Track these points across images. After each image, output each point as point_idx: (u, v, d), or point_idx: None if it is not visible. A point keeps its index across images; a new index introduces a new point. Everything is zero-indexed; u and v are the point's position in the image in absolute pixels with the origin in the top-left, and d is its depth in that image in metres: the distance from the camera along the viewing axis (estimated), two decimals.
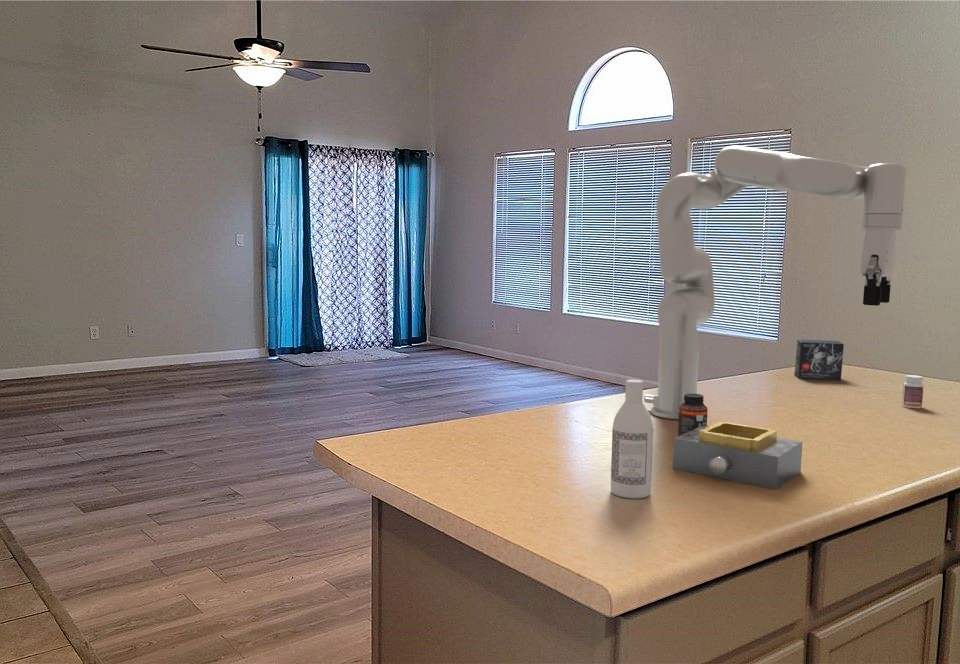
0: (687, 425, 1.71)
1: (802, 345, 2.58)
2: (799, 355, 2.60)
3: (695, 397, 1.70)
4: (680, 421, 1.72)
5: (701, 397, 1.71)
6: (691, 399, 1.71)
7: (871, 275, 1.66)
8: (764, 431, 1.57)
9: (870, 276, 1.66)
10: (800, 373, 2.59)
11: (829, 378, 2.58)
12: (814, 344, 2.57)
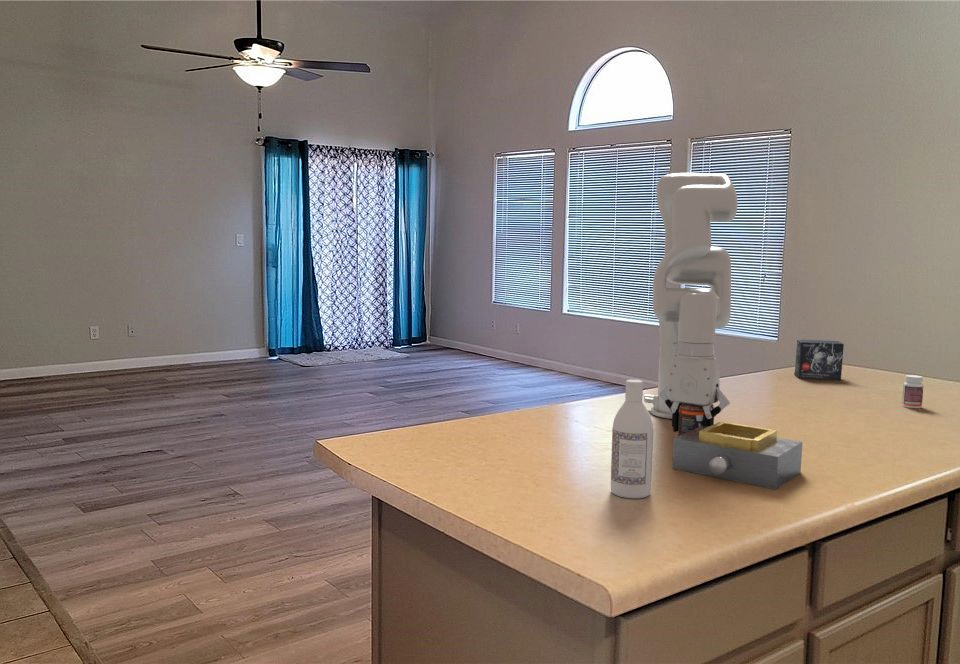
0: (687, 425, 1.71)
1: (802, 345, 2.58)
2: (799, 355, 2.60)
3: None
4: (680, 421, 1.72)
5: None
6: None
7: None
8: (764, 431, 1.57)
9: (721, 410, 1.69)
10: (800, 373, 2.59)
11: (829, 378, 2.58)
12: (814, 344, 2.57)
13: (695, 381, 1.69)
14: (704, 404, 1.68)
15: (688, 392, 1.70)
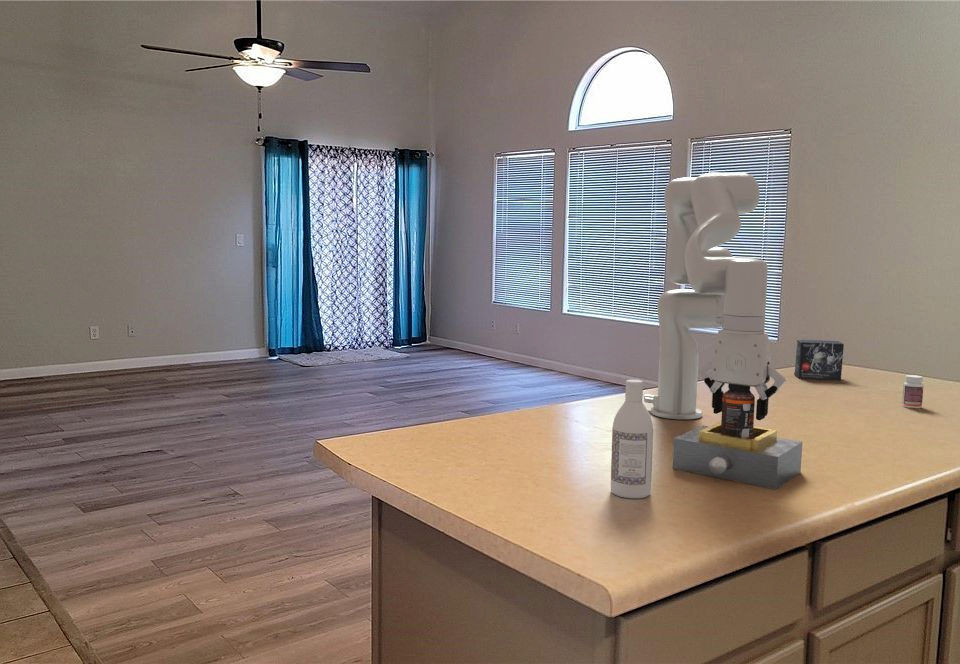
0: (732, 415, 1.53)
1: (802, 345, 2.58)
2: (799, 355, 2.60)
3: None
4: (724, 411, 1.54)
5: None
6: (737, 386, 1.53)
7: (778, 388, 1.50)
8: (764, 431, 1.57)
9: (777, 389, 1.50)
10: (800, 373, 2.59)
11: (829, 378, 2.58)
12: (814, 344, 2.57)
13: (743, 359, 1.51)
14: (754, 385, 1.50)
15: (735, 371, 1.52)
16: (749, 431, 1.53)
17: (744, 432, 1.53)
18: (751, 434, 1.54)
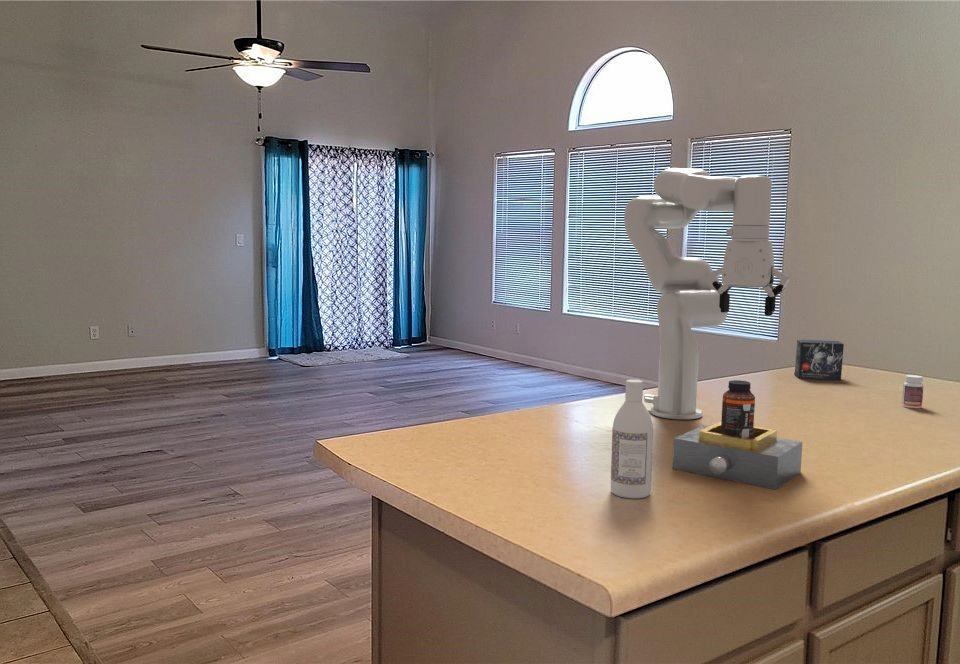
0: (732, 415, 1.53)
1: (802, 345, 2.58)
2: (799, 355, 2.60)
3: (742, 384, 1.53)
4: (724, 411, 1.54)
5: (748, 384, 1.53)
6: (737, 386, 1.53)
7: (784, 286, 1.70)
8: (764, 431, 1.57)
9: (783, 287, 1.70)
10: (800, 373, 2.59)
11: (829, 378, 2.58)
12: (814, 344, 2.57)
13: (750, 263, 1.71)
14: (759, 285, 1.71)
15: (743, 275, 1.73)
16: (749, 432, 1.53)
17: (744, 432, 1.53)
18: (751, 434, 1.54)
